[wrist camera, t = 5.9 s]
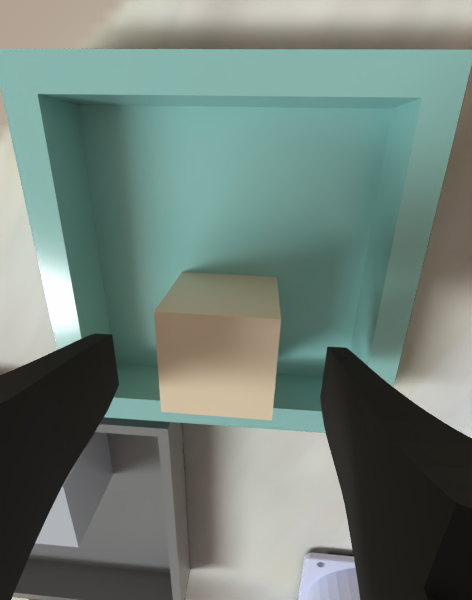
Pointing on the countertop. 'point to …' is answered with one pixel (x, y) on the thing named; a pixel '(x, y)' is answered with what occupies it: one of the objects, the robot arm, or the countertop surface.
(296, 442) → the countertop surface
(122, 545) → the tray
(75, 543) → the light gray rectangular block
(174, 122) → the dish
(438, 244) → the countertop surface
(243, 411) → the tan rectangular block
